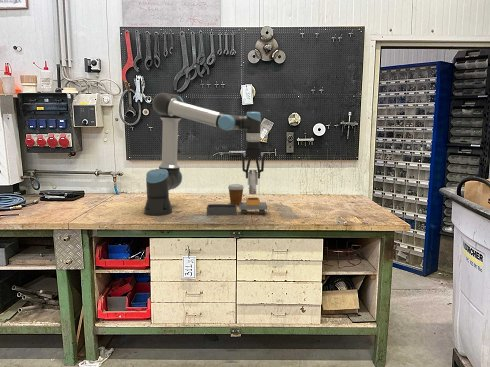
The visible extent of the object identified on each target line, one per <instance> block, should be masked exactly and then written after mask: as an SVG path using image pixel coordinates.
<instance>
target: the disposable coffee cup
mask: <svg viewBox="0 0 490 367" xmlns="http://www.w3.org/2000/svg"><path fill="white" fill-rule="evenodd" d="M227 188H228V193H229V200H230V201H229V202H230V203H229V204H236V206H237V207H239V202H242V201H243V193H244V189H245V187H244V185H243V184H241V183H239V184H237V183H235V184H229V185H228V187H227Z"/></svg>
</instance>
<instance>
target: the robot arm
mask: <svg viewBox="0 0 490 367" xmlns="http://www.w3.org/2000/svg"><path fill="white" fill-rule="evenodd" d="M152 108H153V110H154V111H155V112H156V113H157V114H159V118H160V120H161V121H162V136H161V137H162V139H161V140H162V141H161V142H162V143H161V146H162V147H161V164H160V165H158V168H156V169H155V168H154V169H150V170H148V171H147V172H146V176H145V181H146V182H145V183H146V202H145V206H144V209H143V211H144V212H143V213H144V215H147V216H165V215H170V214H172V213H173V206H172V204H171V200H170V196H169V195H170V194H169V191H171V190H174V189H176V188H177V187H179V186H180V185H181V183H182V182H183V174H182V172H181V170H180V166H179V164H178V147H179V146H178V143H179V142H178V140H179V139H178V138H179V137H178V136H179V122H180V120H182V118H184V119H186V120H190V121H194V122H198V123H202V124H203V125H204V124H205V125H208V126H212V127H216V128H219V129H221V130H223V131H228V132H229V131H236V130H238V131H241V130H244V131H246V135H245V136H246V143H245V145H246V146H245V151H244V152H240V156H241V166H242V172H244V173H245V179H247V185H248V186H249V170H250V169H249V168H250V166H251V165H250V164H251V161H252V160H253V159H254V161H255V164H256V170H257V178H256V186H258V185H259V179H261V173H262V172H264V169H265V158H266V153H265V152H262V150H261V142H260V141H261V134H262V133H261V131H262V130H261V126H262V117H261V114H262V113H261V112H259V111H247V112H246V115H234V114H233V115H232V114H227V113H222V112H219V111H216V110H212V109H209V108H205V107H202V106H199V105H193V104H189V103H186V102H185V101H184V100H183V98H182V97H181V96H180V95H178V94H175V93H167V92H160V93H157V94H155V96H154V97H153V99H152ZM246 156H247V157H248V159H247V162H245V161H246V160H245V157H246ZM260 156H261V161H260V162H261V165H260V163H259V159H258V158H259V157H260ZM245 163H247V164H245ZM245 166H246V167H245Z"/></svg>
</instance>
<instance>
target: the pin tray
mask: <svg viewBox="0 0 490 367" xmlns="http://www.w3.org/2000/svg"><path fill="white" fill-rule="evenodd" d="M237 208H238V206H236V204H231V203H222V204H220V203H217V204H214V203H212V204H207V206H206V216H237V215H238V213H237V210H238V209H237Z"/></svg>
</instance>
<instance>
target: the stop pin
mask: <svg viewBox="0 0 490 367" xmlns="http://www.w3.org/2000/svg"><path fill="white" fill-rule="evenodd" d="M248 172H249V185H248V194H249V195H257V185H256V178H257V172H258V170H257V169H249V170H248Z"/></svg>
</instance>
